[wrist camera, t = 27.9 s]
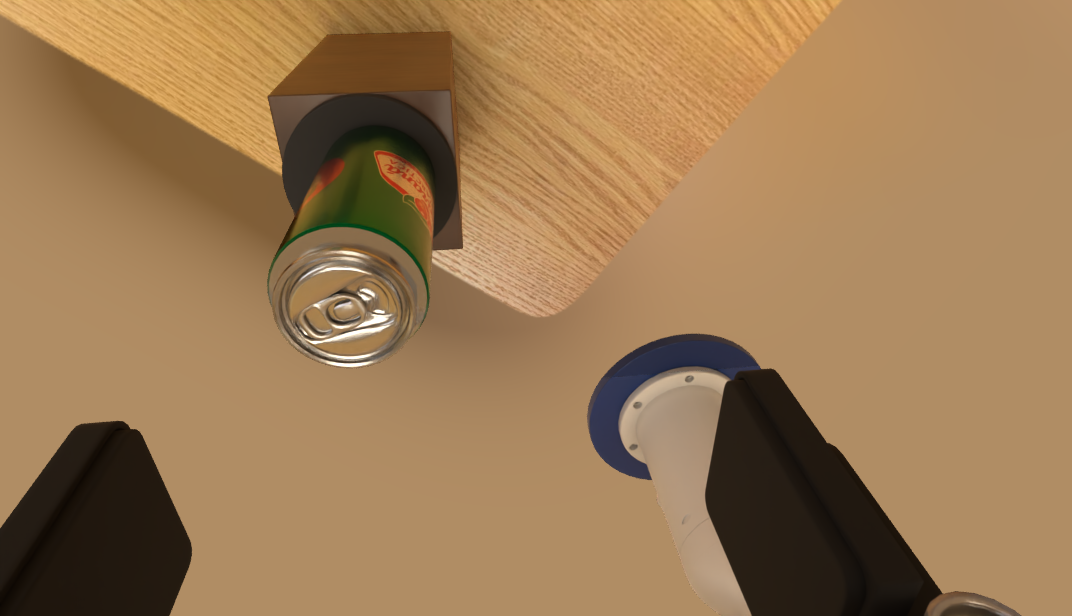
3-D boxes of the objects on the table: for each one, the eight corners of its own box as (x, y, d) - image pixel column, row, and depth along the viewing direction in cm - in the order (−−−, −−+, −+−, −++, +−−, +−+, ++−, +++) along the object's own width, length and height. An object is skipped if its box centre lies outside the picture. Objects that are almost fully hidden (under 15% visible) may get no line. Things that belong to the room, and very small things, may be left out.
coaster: (463, 249, 33) (463, 254, 32) (303, 258, 32) (301, 264, 32) (451, 89, 29) (450, 92, 28) (266, 95, 28) (263, 99, 27)
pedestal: (459, 149, 46) (463, 249, 33) (347, 154, 46) (303, 258, 32) (450, 31, 42) (451, 89, 29) (326, 34, 41) (266, 95, 28)
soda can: (453, 201, 31) (455, 344, 21) (359, 240, 31) (315, 398, 21) (405, 103, 28) (379, 212, 18) (302, 147, 29) (222, 278, 19)
